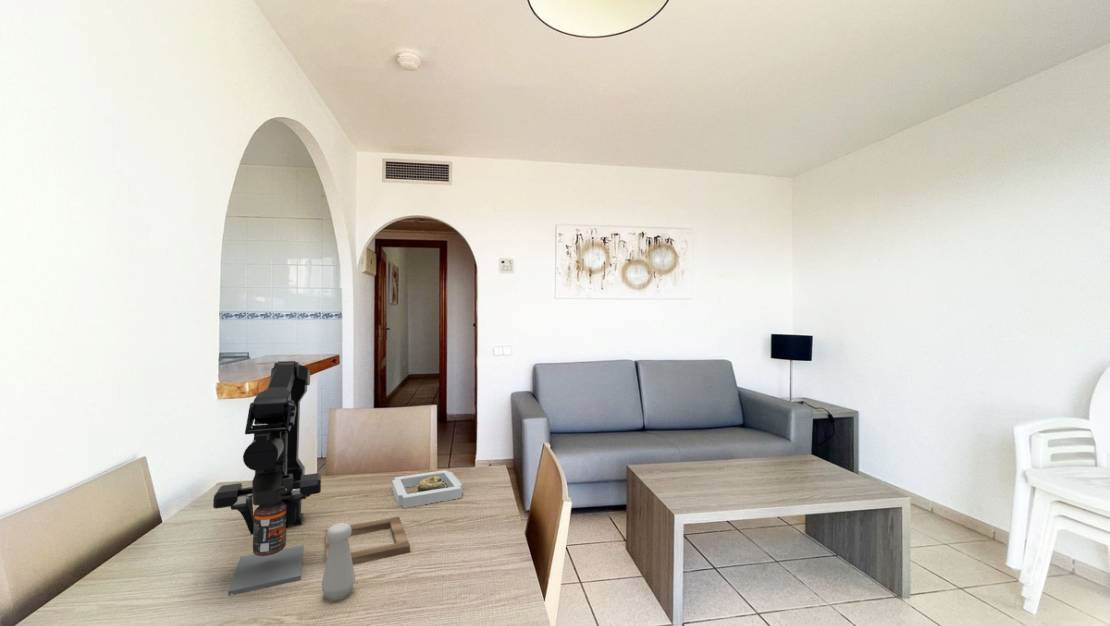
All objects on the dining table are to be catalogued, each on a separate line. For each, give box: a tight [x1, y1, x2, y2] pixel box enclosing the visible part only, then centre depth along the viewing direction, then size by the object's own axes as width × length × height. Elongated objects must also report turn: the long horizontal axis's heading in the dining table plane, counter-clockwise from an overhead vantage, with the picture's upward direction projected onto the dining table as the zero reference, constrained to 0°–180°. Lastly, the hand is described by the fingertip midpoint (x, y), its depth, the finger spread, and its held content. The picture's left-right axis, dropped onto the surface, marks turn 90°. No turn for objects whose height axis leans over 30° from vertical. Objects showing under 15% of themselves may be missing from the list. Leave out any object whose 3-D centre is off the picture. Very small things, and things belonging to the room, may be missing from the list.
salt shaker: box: [321, 522, 356, 602], centre depth 86 cm, size 6×6×13 cm
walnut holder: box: [325, 516, 411, 565], centre depth 106 cm, size 17×17×2 cm
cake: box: [416, 476, 447, 493], centre depth 138 cm, size 10×10×5 cm
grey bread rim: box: [391, 469, 464, 510], centre depth 138 cm, size 18×18×3 cm
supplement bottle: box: [252, 498, 288, 556], centre depth 95 cm, size 6×6×11 cm
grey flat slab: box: [227, 544, 304, 596], centre depth 95 cm, size 14×12×1 cm
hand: (270, 530), depth 95 cm, fingers closed on supplement bottle, 6 cm apart
